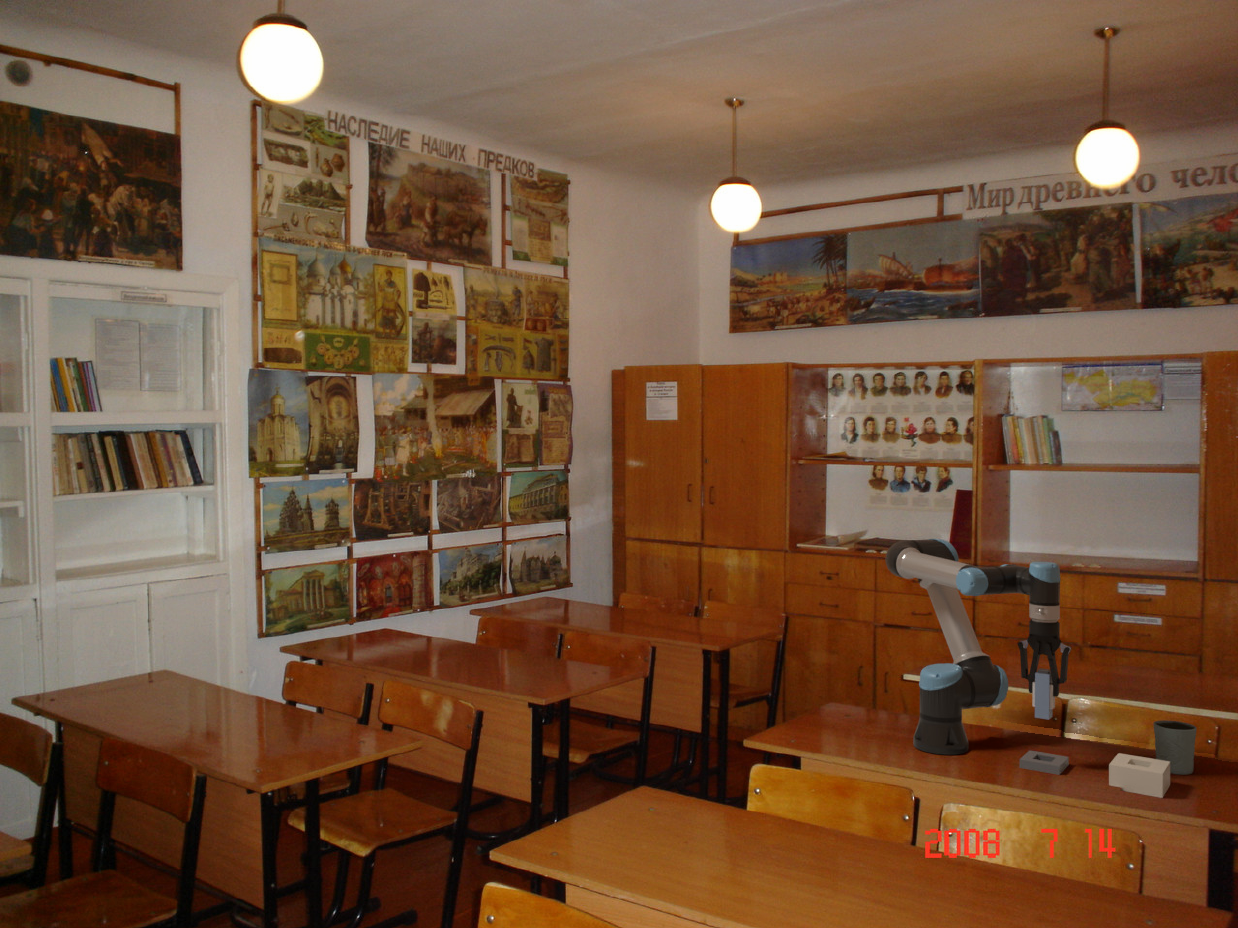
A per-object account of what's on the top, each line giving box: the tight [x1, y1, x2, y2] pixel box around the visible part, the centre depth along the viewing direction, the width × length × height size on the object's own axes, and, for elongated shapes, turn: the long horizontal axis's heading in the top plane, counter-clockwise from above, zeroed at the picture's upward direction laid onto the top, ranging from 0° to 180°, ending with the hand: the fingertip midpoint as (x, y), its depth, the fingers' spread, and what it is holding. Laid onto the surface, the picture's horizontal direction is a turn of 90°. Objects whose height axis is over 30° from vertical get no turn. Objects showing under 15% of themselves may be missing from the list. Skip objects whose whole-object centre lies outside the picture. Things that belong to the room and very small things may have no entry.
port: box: [1108, 752, 1171, 799], centre depth 250 cm, size 12×12×6 cm
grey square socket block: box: [1019, 750, 1070, 775], centre depth 264 cm, size 10×10×3 cm
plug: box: [1034, 668, 1053, 720], centre depth 264 cm, size 4×4×13 cm
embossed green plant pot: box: [1153, 719, 1197, 776], centre depth 264 cm, size 10×10×12 cm
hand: (1043, 706), depth 264 cm, fingers closed on plug, 4 cm apart
